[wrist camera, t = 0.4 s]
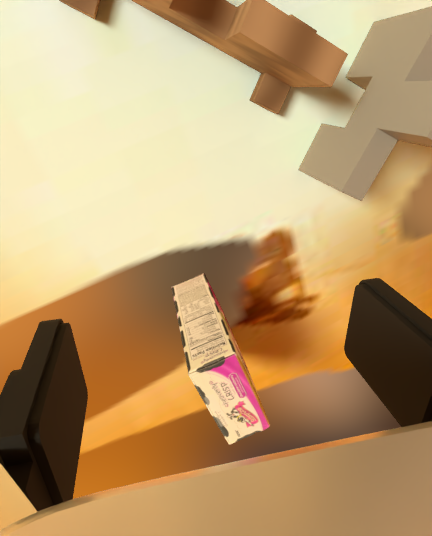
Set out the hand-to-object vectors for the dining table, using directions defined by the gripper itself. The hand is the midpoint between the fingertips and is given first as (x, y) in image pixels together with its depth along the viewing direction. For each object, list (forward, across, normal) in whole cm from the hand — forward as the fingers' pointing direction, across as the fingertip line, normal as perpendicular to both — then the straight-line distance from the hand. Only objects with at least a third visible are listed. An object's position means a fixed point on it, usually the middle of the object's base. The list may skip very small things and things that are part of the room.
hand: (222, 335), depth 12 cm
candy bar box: (+31, -4, +20) cm, 37 cm away
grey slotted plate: (+31, -20, -5) cm, 37 cm away
